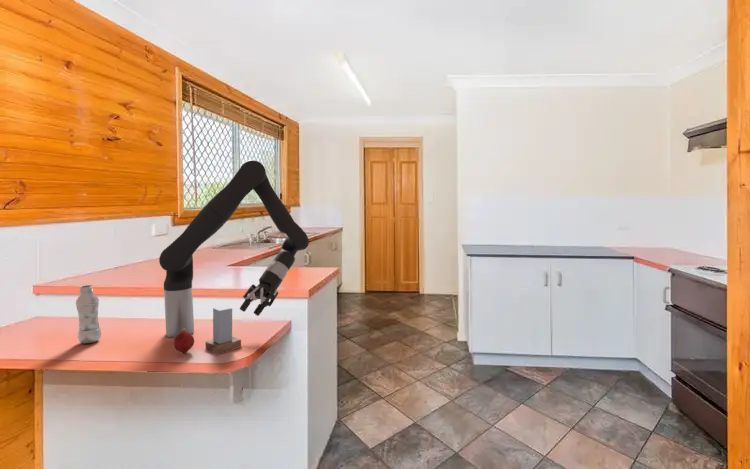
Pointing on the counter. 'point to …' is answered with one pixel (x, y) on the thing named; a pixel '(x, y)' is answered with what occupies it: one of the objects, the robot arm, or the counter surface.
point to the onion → (183, 341)
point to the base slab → (223, 345)
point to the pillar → (222, 324)
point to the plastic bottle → (88, 315)
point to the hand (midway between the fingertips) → (248, 312)
